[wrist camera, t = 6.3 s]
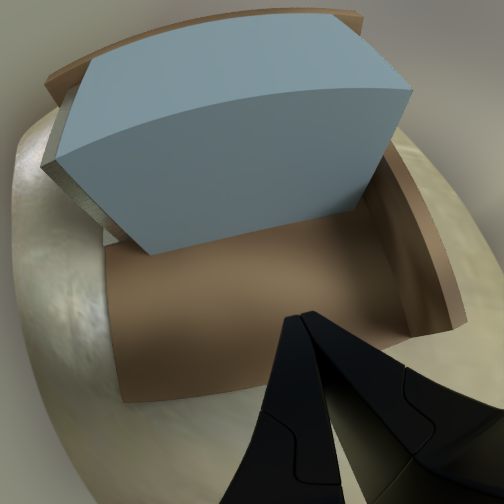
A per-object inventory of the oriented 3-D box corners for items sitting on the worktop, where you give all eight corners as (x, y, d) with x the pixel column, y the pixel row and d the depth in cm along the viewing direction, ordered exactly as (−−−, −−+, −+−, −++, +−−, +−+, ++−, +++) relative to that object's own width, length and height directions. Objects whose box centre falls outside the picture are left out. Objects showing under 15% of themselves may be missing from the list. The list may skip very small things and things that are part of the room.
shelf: (419, 332, 13) (550, 294, 4) (127, 401, 13) (-5, 427, 4) (332, 120, 19) (354, 10, 10) (112, 169, 18) (49, 75, 9)
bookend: (133, 240, 16) (54, 159, 8) (105, 247, 15) (21, 177, 8) (132, 169, 17) (80, 83, 10) (108, 177, 17) (50, 99, 10)
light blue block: (353, 210, 16) (413, 89, 7) (149, 255, 15) (54, 159, 7) (314, 126, 18) (331, 14, 10) (145, 162, 18) (91, 59, 9)
